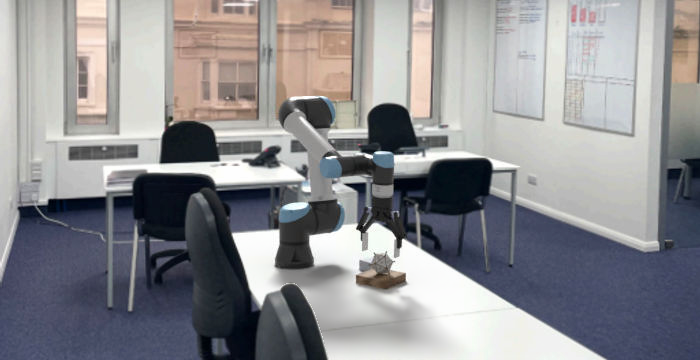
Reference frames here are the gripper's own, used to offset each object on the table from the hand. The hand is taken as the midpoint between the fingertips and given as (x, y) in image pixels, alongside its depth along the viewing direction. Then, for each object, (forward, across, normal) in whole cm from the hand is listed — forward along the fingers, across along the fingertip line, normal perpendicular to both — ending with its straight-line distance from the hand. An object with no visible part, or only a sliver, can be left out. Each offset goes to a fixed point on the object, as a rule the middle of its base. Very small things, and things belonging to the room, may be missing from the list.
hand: (380, 253), depth 291 cm
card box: (+11, -11, +13) cm, 20 cm away
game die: (+8, +1, 0) cm, 8 cm away
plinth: (+10, +1, 0) cm, 10 cm away
